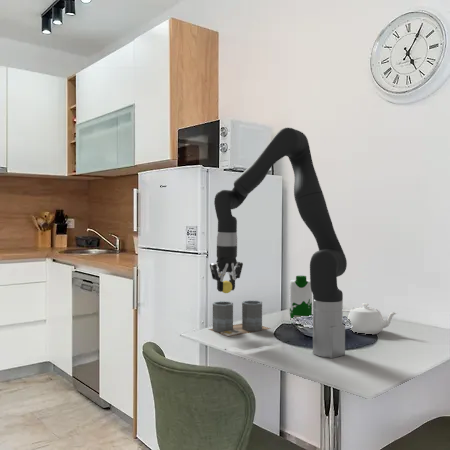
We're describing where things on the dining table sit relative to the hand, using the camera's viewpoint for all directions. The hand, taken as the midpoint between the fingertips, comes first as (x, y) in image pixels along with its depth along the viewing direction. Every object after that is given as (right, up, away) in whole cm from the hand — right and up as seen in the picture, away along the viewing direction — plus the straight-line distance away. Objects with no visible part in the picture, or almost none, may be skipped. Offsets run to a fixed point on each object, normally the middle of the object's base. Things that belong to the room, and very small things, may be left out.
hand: (226, 290), depth 174 cm
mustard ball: (0, -1, 0) cm, 1 cm away
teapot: (+53, -16, +4) cm, 56 cm away
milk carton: (+30, -16, +14) cm, 37 cm away
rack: (+5, -16, +4) cm, 17 cm away
